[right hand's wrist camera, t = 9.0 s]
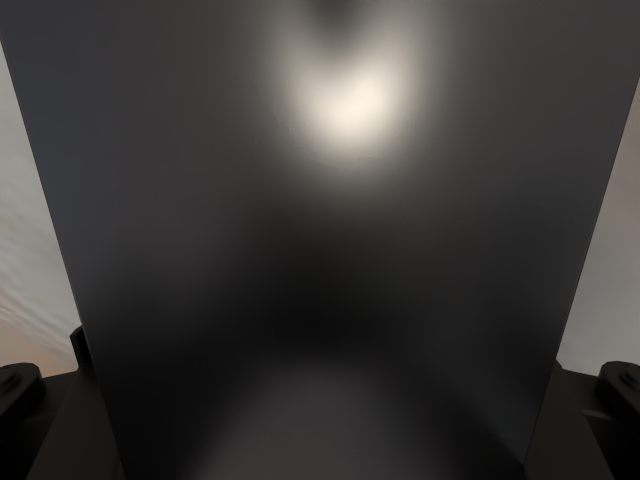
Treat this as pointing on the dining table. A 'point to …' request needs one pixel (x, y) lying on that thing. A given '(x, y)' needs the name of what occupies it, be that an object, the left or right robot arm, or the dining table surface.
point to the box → (323, 219)
